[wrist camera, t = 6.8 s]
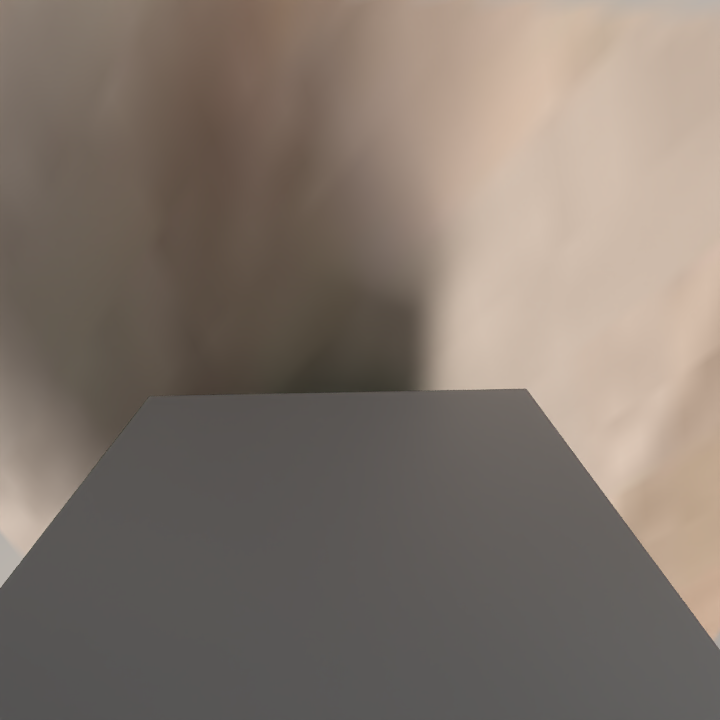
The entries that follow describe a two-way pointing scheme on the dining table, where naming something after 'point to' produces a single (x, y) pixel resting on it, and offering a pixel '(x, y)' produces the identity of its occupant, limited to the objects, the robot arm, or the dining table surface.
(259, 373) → the dining table surface
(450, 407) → the grey arch block
